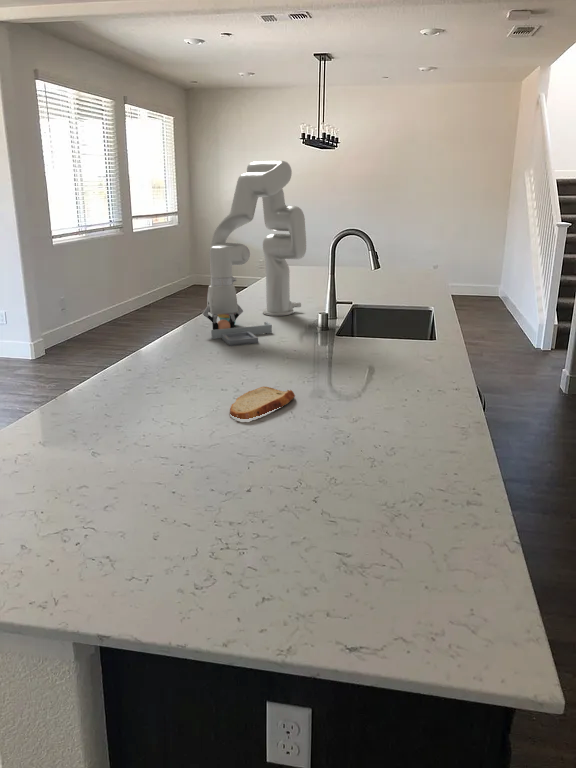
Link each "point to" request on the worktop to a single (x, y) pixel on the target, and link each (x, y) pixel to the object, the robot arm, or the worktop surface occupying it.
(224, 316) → the cupcake
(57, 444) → the worktop surface
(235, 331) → the wall
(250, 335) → the dish
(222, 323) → the ball
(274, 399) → the bread slice
